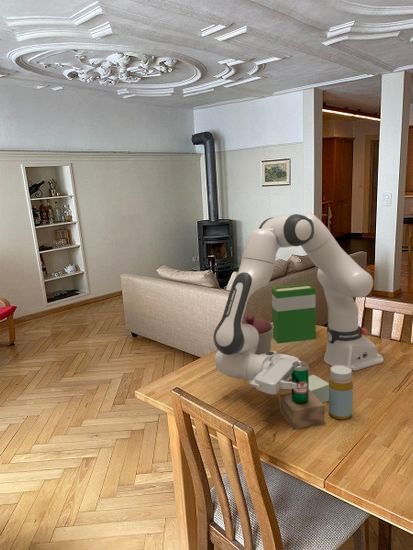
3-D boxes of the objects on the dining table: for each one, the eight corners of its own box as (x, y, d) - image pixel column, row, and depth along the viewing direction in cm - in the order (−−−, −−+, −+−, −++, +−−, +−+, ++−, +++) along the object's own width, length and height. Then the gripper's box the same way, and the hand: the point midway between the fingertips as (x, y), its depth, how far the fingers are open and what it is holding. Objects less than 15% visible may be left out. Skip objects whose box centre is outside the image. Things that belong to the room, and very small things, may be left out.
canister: (225, 375, 157) (222, 323, 152) (233, 355, 174) (231, 307, 169) (272, 377, 153) (271, 324, 148) (276, 357, 170) (275, 308, 165)
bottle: (352, 409, 129) (353, 365, 126) (352, 421, 123) (353, 376, 119) (329, 406, 131) (329, 363, 128) (328, 418, 125) (328, 373, 122)
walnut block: (309, 406, 132) (309, 389, 131) (324, 423, 123) (324, 405, 121) (280, 411, 130) (279, 394, 129) (293, 429, 121) (292, 411, 120)
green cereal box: (309, 333, 192) (309, 283, 187) (315, 339, 185) (315, 287, 180) (273, 337, 190) (271, 287, 185) (278, 343, 183) (276, 291, 177)
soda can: (294, 405, 122) (293, 368, 120) (290, 396, 127) (289, 361, 125) (310, 404, 123) (310, 367, 120) (306, 395, 128) (305, 359, 125)
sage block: (313, 390, 142) (313, 374, 141) (330, 400, 135) (330, 384, 134) (295, 397, 139) (294, 380, 137) (311, 407, 132) (311, 390, 130)
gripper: (245, 374, 122) (289, 384, 114) (274, 348, 138) (314, 356, 131) (246, 393, 123) (289, 404, 116) (274, 366, 140) (314, 374, 132)
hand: (302, 378), depth 123 cm, fingers open, 8 cm apart
